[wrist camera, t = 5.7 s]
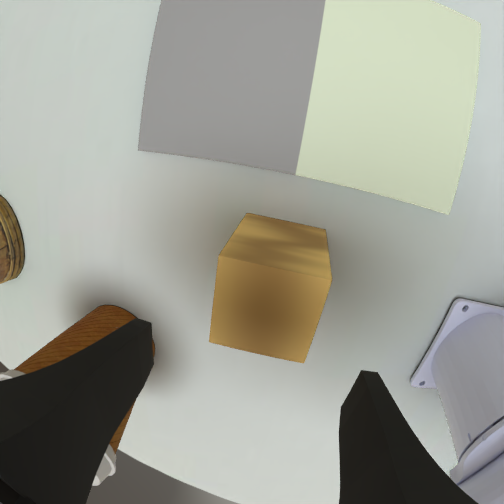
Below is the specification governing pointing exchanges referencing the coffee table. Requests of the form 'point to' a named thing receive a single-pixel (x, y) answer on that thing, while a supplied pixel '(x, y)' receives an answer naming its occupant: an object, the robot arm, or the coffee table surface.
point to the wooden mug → (9, 244)
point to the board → (318, 90)
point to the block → (271, 288)
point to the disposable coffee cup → (73, 342)
